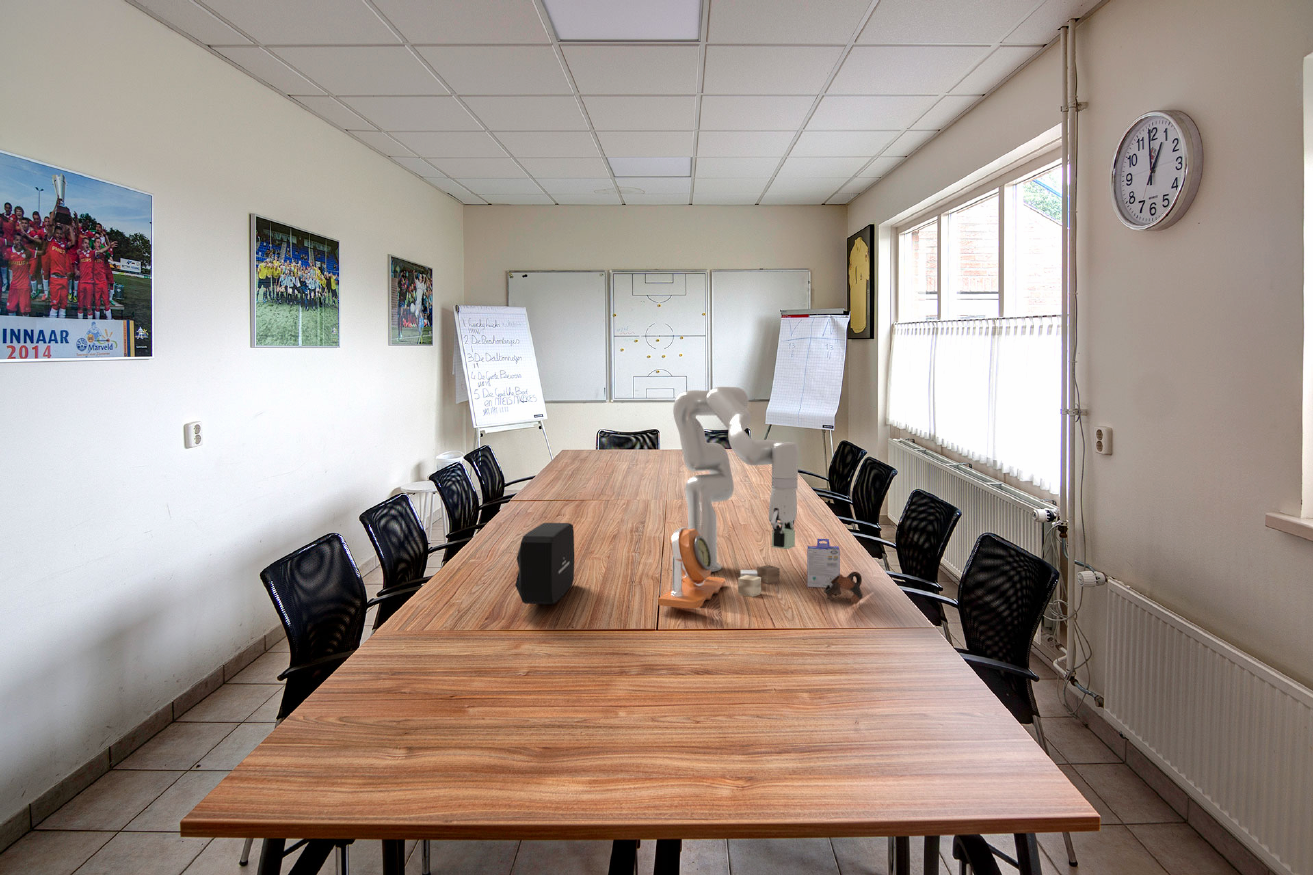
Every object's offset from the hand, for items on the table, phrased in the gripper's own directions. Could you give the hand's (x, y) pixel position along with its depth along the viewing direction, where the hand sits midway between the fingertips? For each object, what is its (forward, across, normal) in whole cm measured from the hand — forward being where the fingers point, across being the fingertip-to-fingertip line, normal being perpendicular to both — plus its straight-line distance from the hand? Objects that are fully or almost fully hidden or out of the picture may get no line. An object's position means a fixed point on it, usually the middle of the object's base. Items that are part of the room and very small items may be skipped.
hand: (783, 544), depth 209 cm
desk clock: (+16, +16, -21) cm, 31 cm away
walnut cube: (+16, -11, -10) cm, 21 cm away
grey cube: (+16, -2, -12) cm, 20 cm away
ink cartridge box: (+15, -17, +6) cm, 23 cm away
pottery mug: (+15, -6, +21) cm, 26 cm away
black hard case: (+17, +41, -58) cm, 73 cm away
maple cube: (+15, +5, -8) cm, 18 cm away
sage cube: (+1, 0, 0) cm, 1 cm away
